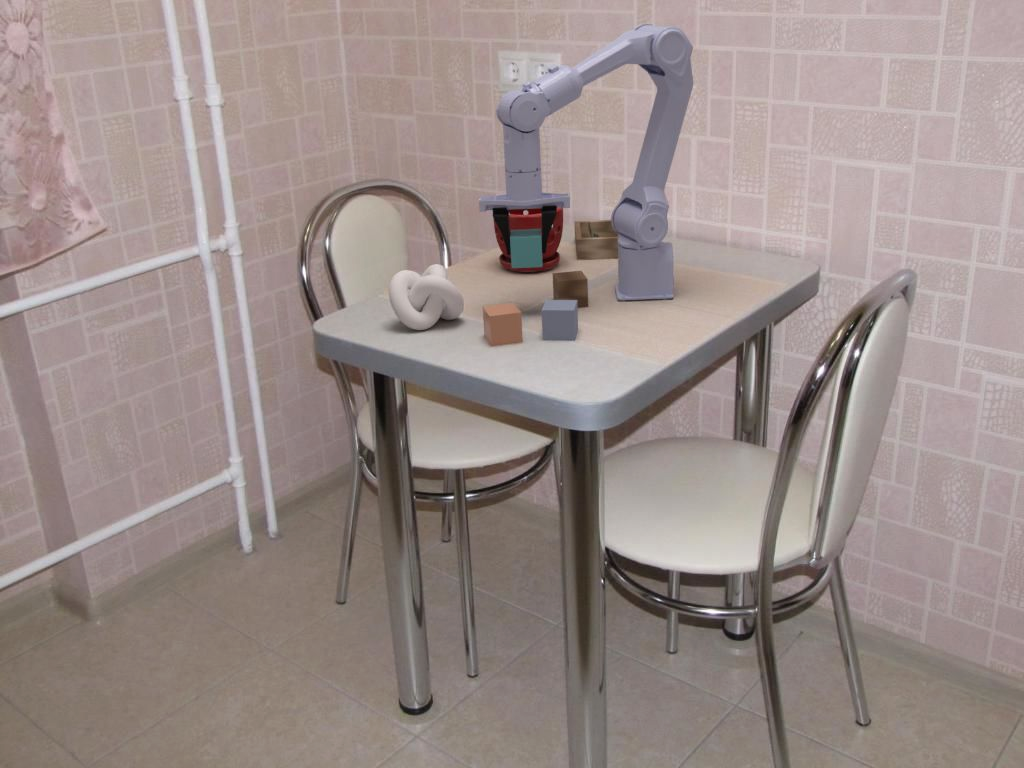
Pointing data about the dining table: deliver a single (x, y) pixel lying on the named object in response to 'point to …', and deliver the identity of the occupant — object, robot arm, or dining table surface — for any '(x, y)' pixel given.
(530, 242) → the teal block
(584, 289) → the walnut block
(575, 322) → the slate-blue block
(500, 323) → the terracotta block
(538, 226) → the plant pot
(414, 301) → the white knot sculpture
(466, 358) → the dining table surface
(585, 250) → the wooden compartment box
